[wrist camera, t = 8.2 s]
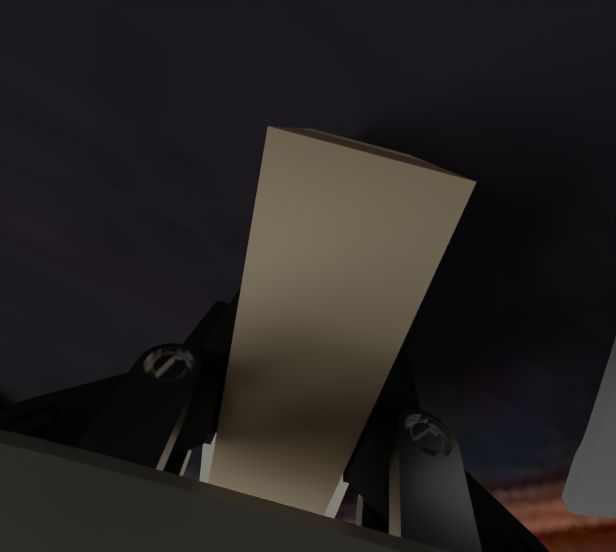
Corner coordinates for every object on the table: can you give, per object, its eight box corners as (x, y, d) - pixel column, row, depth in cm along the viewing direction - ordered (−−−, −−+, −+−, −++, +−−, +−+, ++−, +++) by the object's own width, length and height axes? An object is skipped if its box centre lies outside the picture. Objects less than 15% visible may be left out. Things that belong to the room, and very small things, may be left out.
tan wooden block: (312, 129, 10) (267, 126, 5) (409, 154, 10) (476, 181, 5) (252, 397, 15) (198, 543, 10) (317, 415, 15) (298, 571, 10)
